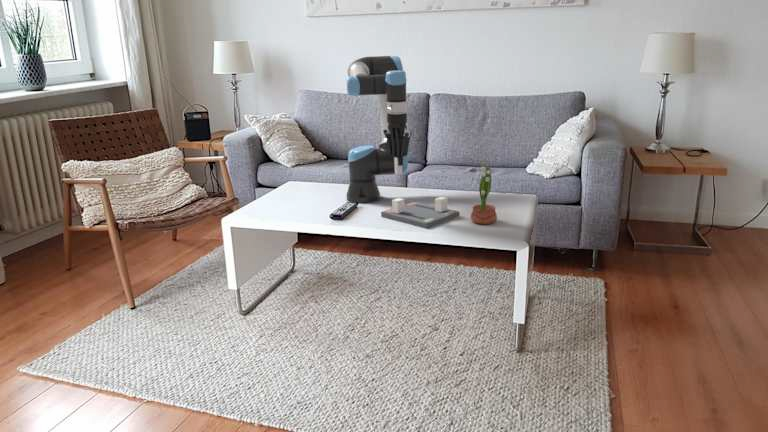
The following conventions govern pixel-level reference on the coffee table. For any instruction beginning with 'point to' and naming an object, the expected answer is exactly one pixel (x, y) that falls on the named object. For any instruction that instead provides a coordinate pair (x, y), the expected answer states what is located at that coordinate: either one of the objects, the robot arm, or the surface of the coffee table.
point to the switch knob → (441, 204)
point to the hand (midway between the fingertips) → (398, 173)
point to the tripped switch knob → (398, 205)
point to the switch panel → (421, 215)
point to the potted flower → (484, 199)
